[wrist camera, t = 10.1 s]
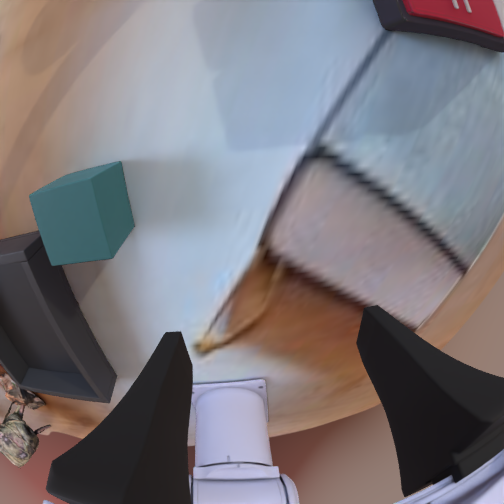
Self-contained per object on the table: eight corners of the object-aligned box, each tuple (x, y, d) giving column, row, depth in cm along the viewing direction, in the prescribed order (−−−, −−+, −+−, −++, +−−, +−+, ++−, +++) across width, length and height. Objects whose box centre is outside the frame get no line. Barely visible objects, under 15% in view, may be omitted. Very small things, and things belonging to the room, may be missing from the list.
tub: (117, 376, 25) (109, 403, 22) (30, 367, 24) (20, 388, 21) (48, 228, 17) (23, 250, 14) (-35, 249, 16) (-55, 266, 13)
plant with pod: (36, 414, 30) (11, 507, 12) (-9, 369, 25) (-50, 468, 7) (64, 416, 30) (39, 524, 12) (13, 368, 24) (-31, 486, 7)
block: (135, 226, 18) (112, 259, 14) (81, 234, 17) (51, 266, 14) (121, 160, 16) (91, 177, 12) (65, 175, 15) (28, 195, 11)
